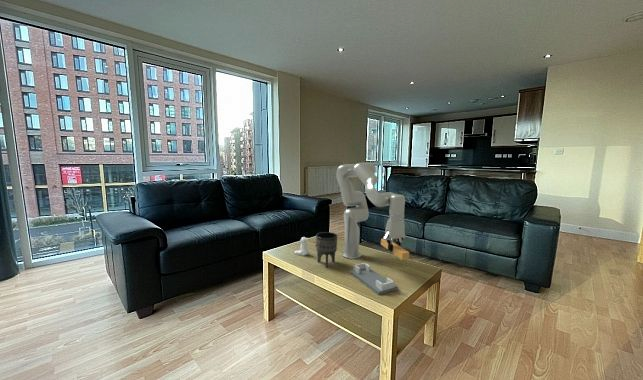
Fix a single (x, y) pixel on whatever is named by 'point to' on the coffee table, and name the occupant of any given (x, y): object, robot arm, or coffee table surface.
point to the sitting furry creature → (303, 247)
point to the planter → (326, 245)
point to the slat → (396, 250)
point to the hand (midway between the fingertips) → (393, 249)
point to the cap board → (373, 279)
